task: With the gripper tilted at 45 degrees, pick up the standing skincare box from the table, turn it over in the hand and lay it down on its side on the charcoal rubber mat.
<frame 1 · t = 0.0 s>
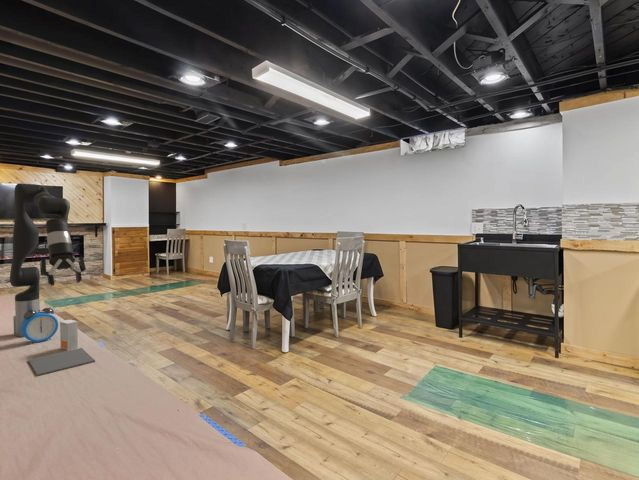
hand: (65, 283, 135), 31 cm above the table, tool tilted 20°, fingers open, 8 cm apart
rubber mat: (61, 361, 138), on the table
alarm clock: (40, 341, 162), on the table
skincare box: (69, 348, 153), on the table
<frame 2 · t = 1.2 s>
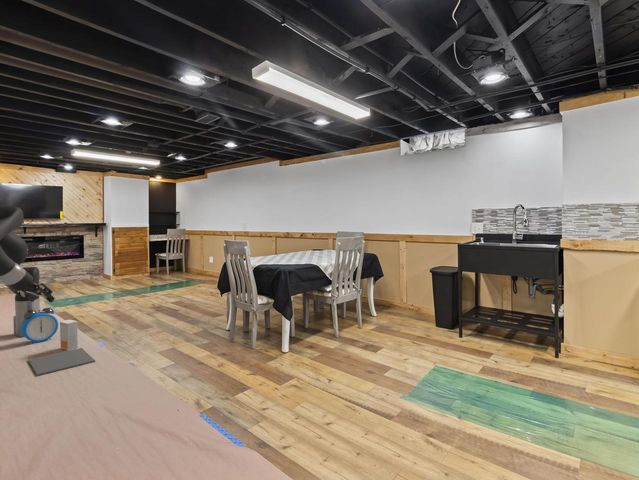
hand: (43, 300, 140), 24 cm above the table, tool tilted 45°, fingers open, 8 cm apart
nothing on the table moved.
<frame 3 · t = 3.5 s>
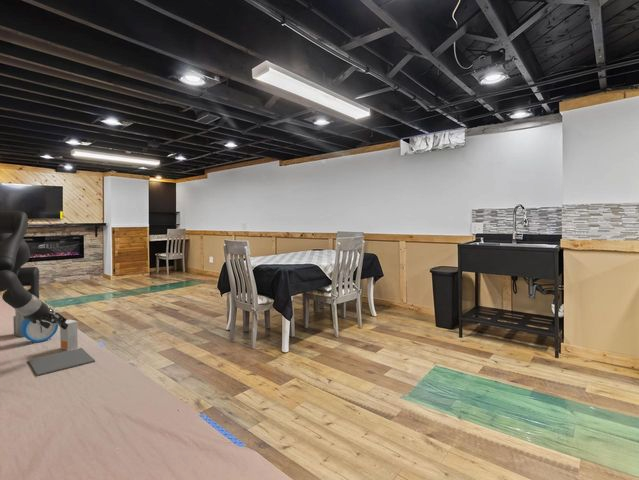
hand: (57, 327, 147), 11 cm above the table, tool tilted 45°, fingers open, 8 cm apart
nothing on the table moved.
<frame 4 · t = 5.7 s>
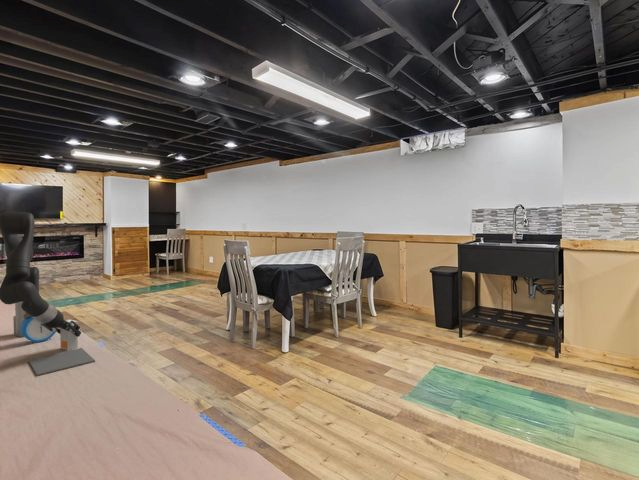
hand: (71, 334, 154), 6 cm above the table, tool tilted 45°, fingers closed on skincare box, 7 cm apart
skincare box: (69, 348, 153), on the table, touching gripper
everything else where it was.
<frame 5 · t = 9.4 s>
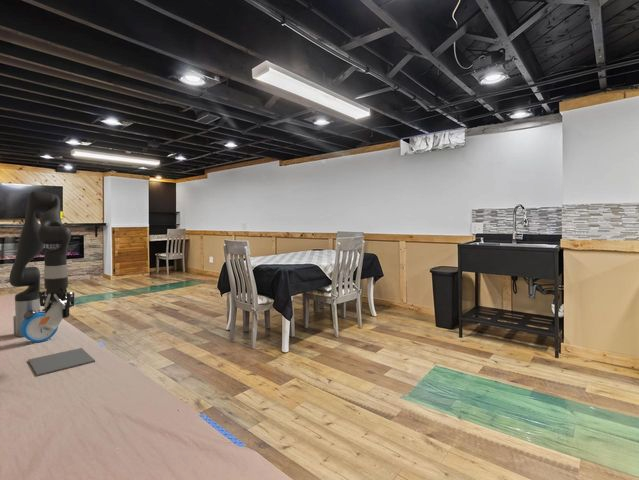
hand: (57, 317, 139), 17 cm above the table, tool pointing down, fingers closed on skincare box, 7 cm apart
skincare box: (45, 328, 134), point 14 cm above the table, touching gripper
everything else where it was.
when the fingers open (6 cm above the table, at t = 12.6 s): skincare box moves 2 cm, resting on rubber mat.
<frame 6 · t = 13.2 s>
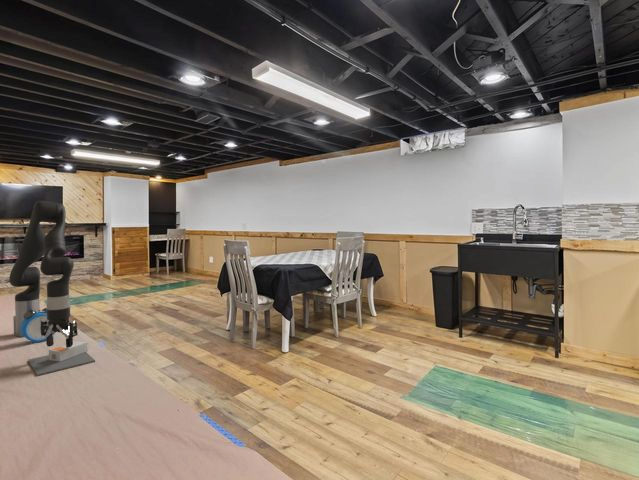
hand: (59, 346, 140), 5 cm above the table, tool pointing down, fingers open, 8 cm apart
skincare box: (53, 356, 136), point 3 cm above the table, touching rubber mat
everything else where it was.
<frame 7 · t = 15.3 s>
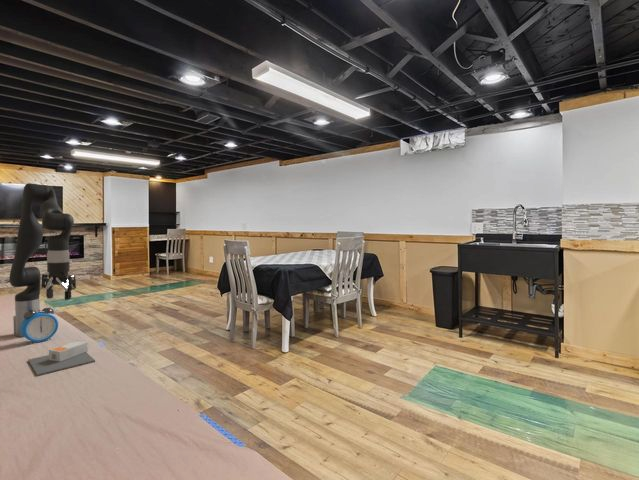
hand: (58, 298, 146), 23 cm above the table, tool pointing down, fingers open, 8 cm apart
nothing on the table moved.
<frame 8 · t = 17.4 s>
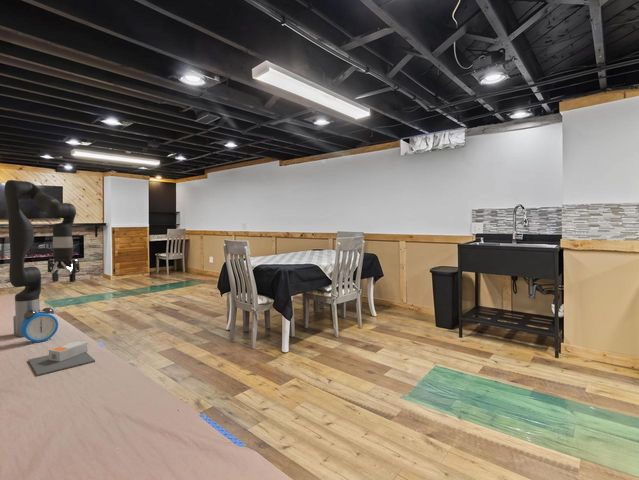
hand: (63, 281, 159), 28 cm above the table, tool pointing down, fingers open, 8 cm apart
nothing on the table moved.
at the end: skincare box tilted 91°; skincare box inside the target area on the rubber mat (2.5 cm from its centre), point 2.8 cm above the rubber mat's base; the gripper is holding nothing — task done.
